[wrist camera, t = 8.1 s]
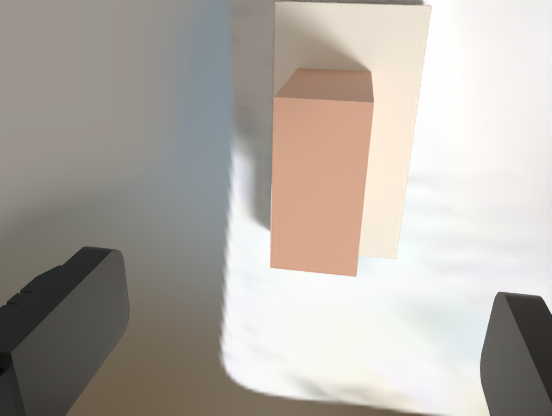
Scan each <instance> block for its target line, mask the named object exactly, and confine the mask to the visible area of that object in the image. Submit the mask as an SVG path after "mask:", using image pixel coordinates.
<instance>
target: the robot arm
mask: <svg viewBox="0 0 552 416" xmlns="http://www.w3.org/2000/svg"><path fill="white" fill-rule="evenodd" d="M128 320H129V300H128V291H127V283H126V275H125V267H124V259H123V256H122V253H121V252H120V251H119V250H116V249H107V248H98V247H87V246H86V247H83V248H82V249H80V250H79V251H78V252H77V253H76V254H75V255H74V256H72V257H71V258H70V259H69V260H68V261H67V262H66V263H65V264H63V265H62V266H60V265H59V266H57V267H55V268H53V269H51V270H49V271H47V272H45V273H43V274H41V275H39V276H37V277H35V278H34V279H33V280H32V281H31V282H30V283H28V284H27V285H26V286H25V287H24V288H23V289H21V291H20V294H19V293H17V294H16V295H14V296H13V297H12V298H11V299H10V300H9V301H7V304H6V305H3V306H2V307H0V416H65V415H66V414H67V412H68V411H69V410H70V408H71V407H72V405H73V404H74V403H75V401H76V400H77V398H78V397H79V396H80V394H81V393H82V392H83V390H84V389H85V387H86V386H87V385H88V383H89V382H90V380H91V379H92V378H93V376H94V375H95V373H96V372H97V371H98V369H99V368H100V367H101V365H102V363H103V362H104V361H105V360H106V358H107V357H108V355H109V354H110V353H111V351H112V350H113V348H114V347H115V346H116V344H117V343H118V342H119V340H120V339H121V337H122V336H123V334H124V332H125V330H126V327H127V324H128ZM480 376H481V383H482V388H483V391H484V395H485V398H486V402H487V405H488V409H489V413H490V416H552V314H551V313H550V311H549V309H548V307H547V305H546V304H545V302H544V300H543V299H542V297H540V296H536V295H526V294H517V293H508V292H498V293H497V295H496V297H495V299H494V303H493V307H492V311H491V315H490V320H489V324H488V328H487V332H486V336H485V341H484V345H483V349H482V354H481V362H480Z"/></svg>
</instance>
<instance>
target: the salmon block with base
mask: <svg viewBox="0 0 552 416" xmlns="http://www.w3.org/2000/svg"><path fill="white" fill-rule="evenodd" d="M431 7H432V6H429V5H400V4H365V3H330V2H295V1H277V2H275V26H274V77H273V127H272V178H271V229H270V247H271V259H270V268H277V269H287V270H297V271H306V272H316V273H326V274H335V275H345V276H355V277H356V273H357V263H358V256H367V257H377V258H387V259H396V257H397V250H398V243H399V236H400V229H401V222H402V215H403V207H404V200H405V193H406V186H407V179H408V172H409V164H410V157H411V150H412V143H413V136H414V129H415V122H416V114H417V107H418V100H419V93H420V86H421V79H422V71H423V64H424V57H425V50H426V43H427V36H428V29H429V21H430V14H431Z"/></svg>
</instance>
